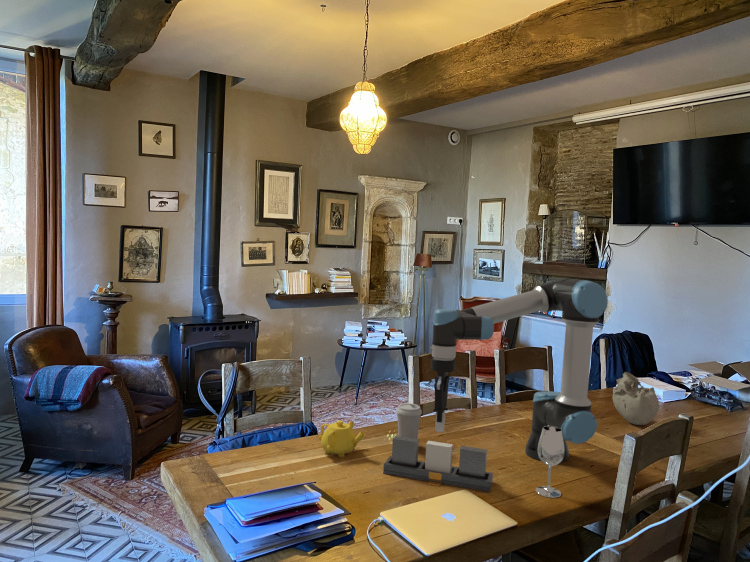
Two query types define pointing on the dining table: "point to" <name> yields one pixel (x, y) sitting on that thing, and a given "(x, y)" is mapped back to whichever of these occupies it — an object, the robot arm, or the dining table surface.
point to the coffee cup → (408, 420)
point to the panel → (438, 457)
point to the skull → (635, 400)
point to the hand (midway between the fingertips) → (439, 431)
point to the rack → (408, 466)
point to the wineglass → (550, 456)
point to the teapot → (339, 438)
